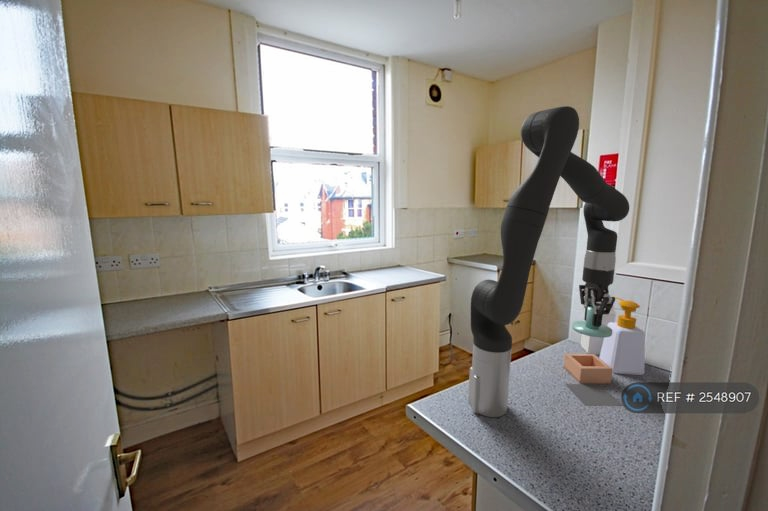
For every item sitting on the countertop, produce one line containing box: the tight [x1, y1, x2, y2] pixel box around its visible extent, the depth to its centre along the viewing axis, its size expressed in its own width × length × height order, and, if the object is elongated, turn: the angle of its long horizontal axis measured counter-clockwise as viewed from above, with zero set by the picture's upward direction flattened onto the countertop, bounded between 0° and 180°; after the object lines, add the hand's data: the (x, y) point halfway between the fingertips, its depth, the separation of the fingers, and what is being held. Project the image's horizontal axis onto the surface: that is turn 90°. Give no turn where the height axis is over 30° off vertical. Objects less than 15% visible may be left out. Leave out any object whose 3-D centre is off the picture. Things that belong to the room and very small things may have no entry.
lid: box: [572, 306, 612, 338], centre depth 99 cm, size 10×10×7 cm
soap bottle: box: [598, 296, 646, 376], centre depth 108 cm, size 10×14×22 cm
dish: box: [563, 353, 613, 384], centre depth 102 cm, size 9×9×5 cm
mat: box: [564, 383, 624, 407], centre depth 93 cm, size 10×10×1 cm
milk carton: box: [580, 302, 617, 356], centre depth 118 cm, size 7×7×19 cm
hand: (592, 323), depth 100 cm, fingers closed on lid, 3 cm apart
